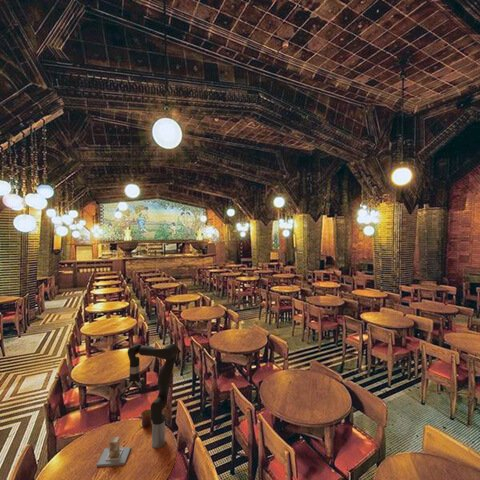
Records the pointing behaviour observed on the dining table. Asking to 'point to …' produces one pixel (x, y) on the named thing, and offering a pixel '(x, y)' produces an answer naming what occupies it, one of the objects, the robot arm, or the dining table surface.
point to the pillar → (114, 447)
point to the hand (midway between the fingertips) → (134, 392)
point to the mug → (146, 418)
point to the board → (119, 460)
